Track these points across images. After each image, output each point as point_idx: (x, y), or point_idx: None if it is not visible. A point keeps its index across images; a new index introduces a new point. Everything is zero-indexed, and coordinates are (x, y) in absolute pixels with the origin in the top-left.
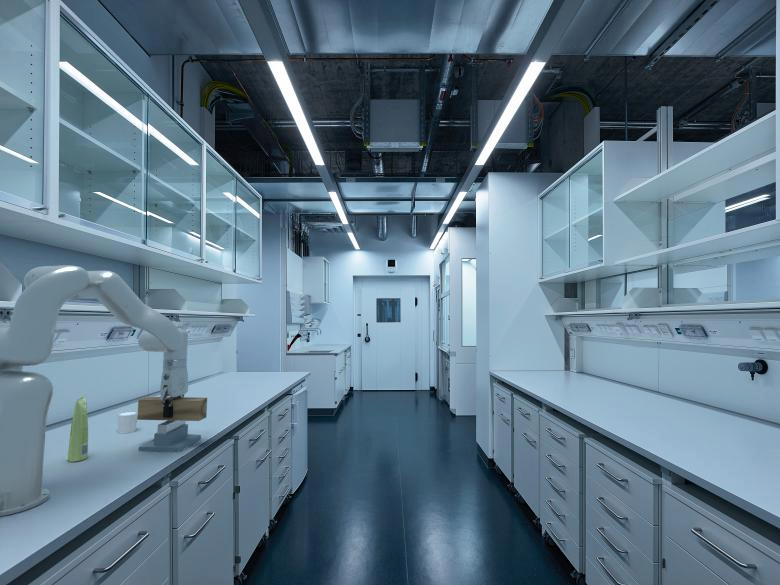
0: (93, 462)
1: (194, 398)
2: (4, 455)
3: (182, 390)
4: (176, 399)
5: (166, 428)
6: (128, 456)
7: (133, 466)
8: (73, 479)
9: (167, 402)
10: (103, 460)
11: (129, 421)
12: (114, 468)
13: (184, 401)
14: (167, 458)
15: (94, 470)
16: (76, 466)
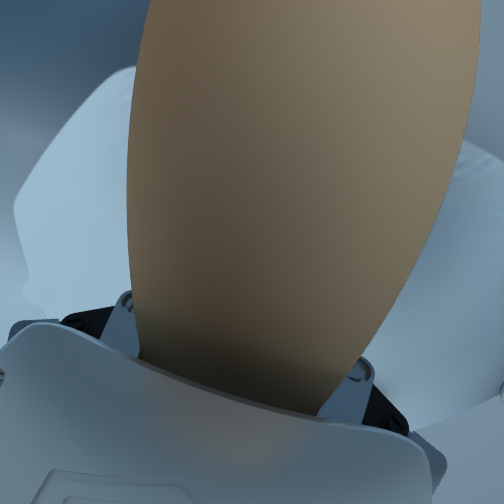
0: (402, 368)
1: (229, 102)
2: None
3: (149, 446)
4: (284, 381)
5: None
6: (393, 313)
7: (490, 271)
8: (491, 357)
9: (393, 414)
10: (398, 356)
11: None
12: (478, 312)
13: (405, 260)
14: (467, 181)
15: (464, 346)
16: (413, 384)
